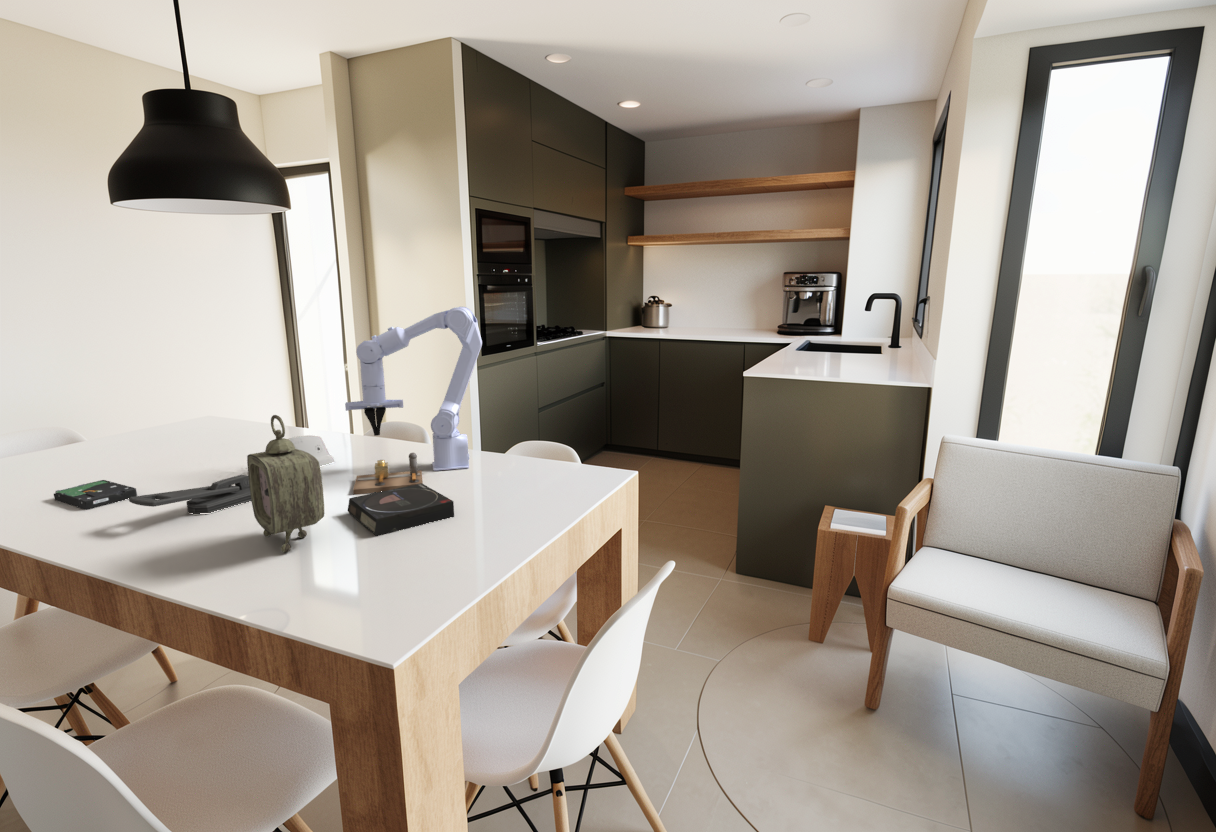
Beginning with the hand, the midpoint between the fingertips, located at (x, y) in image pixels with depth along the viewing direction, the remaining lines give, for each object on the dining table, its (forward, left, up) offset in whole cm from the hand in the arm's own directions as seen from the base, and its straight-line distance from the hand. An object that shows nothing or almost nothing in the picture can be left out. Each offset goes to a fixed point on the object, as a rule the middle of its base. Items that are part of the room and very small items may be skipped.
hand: (377, 434), depth 166 cm
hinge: (+21, -6, -10) cm, 24 cm away
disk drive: (+62, +7, -10) cm, 63 cm away
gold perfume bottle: (-1, +16, -8) cm, 18 cm away
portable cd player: (-6, +40, -10) cm, 42 cm away
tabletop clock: (+14, +48, -10) cm, 51 cm away
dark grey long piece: (+36, +24, -10) cm, 44 cm away
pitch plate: (-3, +16, -9) cm, 19 cm away
